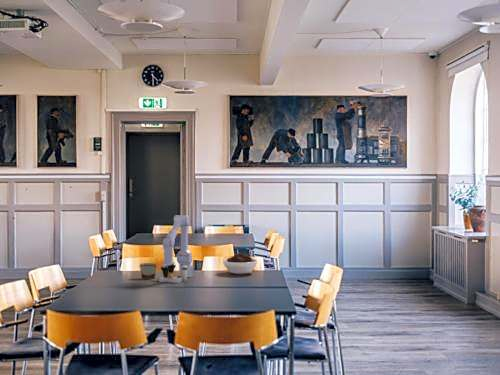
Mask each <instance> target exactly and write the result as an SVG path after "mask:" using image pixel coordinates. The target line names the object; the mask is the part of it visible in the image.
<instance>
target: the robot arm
mask: <svg viewBox="0 0 500 375" xmlns="http://www.w3.org/2000/svg"><path fill="white" fill-rule="evenodd" d="M190 222H191V219H190V217H189V215H179V214H178V215H177V214H175V215H174V216H173V225H172V229H169V231H168V233H167V235H166V237H164V238H163V239H162V244H161V245H162V249H163V262H162V264H161V266H160V269H161V271H163V275H164V278H167V277H168V272H170V273H173V274H174V271H175V268H176V264H175V261H173V260H174V255H173V254H174V253H173V252H174V250H173V248H174V246H175V242H176V240H175V239H176V237H177V235H178V230H179V229H180V250H179V251H178V252H177V255H176V262H177V263H178V265H179V267H178V268H179V270H178V271H179V275H176V276H181V277H182V266H187V278H190V277H194V276H195V275H194V265H193V263H192V262H193V255H192V252H191V251H190V250H189V248H188V247H189V227H190V226H191V225H190Z"/></svg>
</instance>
